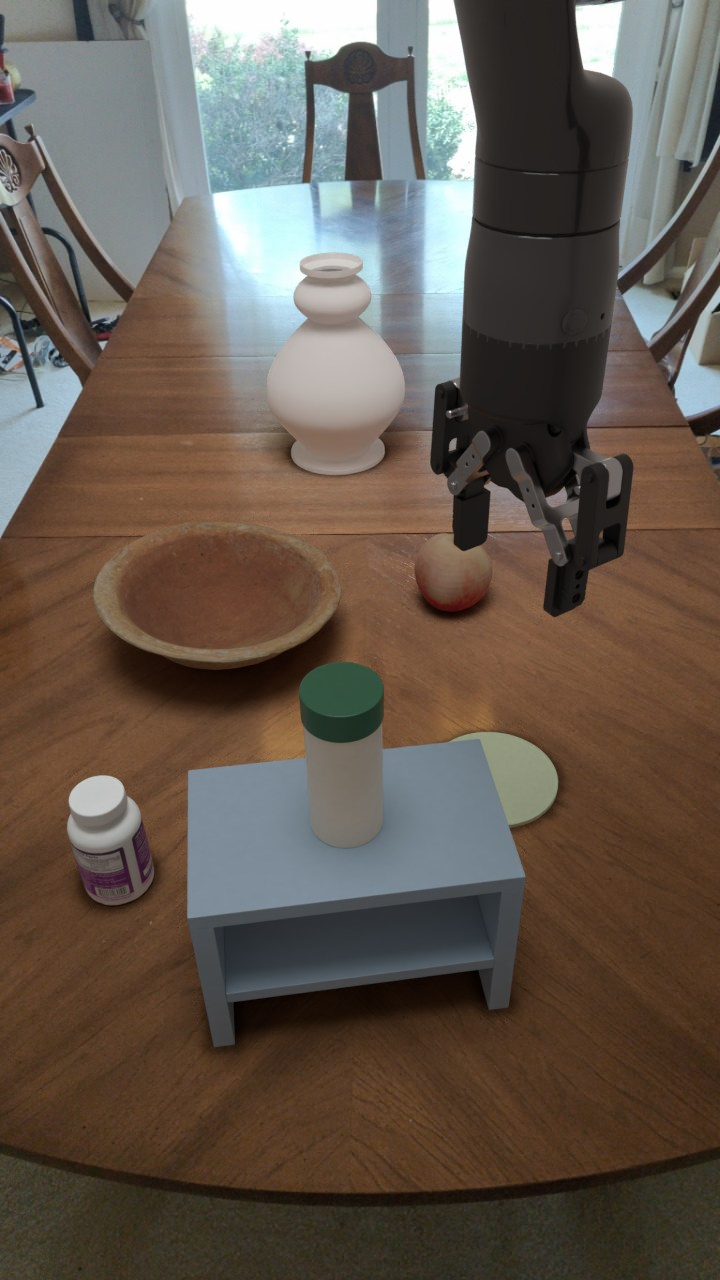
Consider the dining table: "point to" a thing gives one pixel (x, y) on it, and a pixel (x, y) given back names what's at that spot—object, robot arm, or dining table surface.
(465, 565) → the fruit
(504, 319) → the robot arm
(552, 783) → the mat
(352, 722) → the spice bottle
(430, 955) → the shelf
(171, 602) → the bowl
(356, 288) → the decorative vase
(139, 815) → the pill bottle
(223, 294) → the dining table surface
